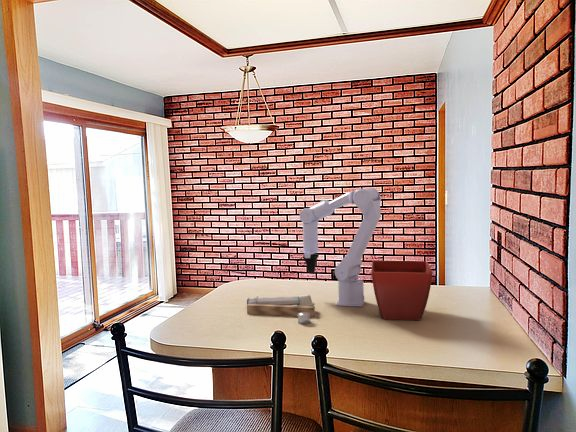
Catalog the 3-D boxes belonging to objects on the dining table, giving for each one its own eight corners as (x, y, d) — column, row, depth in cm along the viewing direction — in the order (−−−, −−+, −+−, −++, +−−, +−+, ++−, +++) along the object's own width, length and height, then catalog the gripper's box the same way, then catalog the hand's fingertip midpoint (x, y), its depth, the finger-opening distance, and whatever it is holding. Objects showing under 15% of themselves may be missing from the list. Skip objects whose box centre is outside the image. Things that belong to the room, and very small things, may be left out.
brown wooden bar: (314, 314, 158) (314, 306, 158) (313, 316, 156) (313, 307, 156) (249, 311, 164) (248, 303, 164) (247, 313, 162) (246, 305, 161)
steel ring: (311, 320, 152) (310, 312, 151) (308, 324, 148) (308, 315, 147) (299, 320, 152) (299, 311, 152) (296, 324, 149) (296, 315, 148)
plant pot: (433, 324, 144) (433, 272, 143) (371, 322, 148) (371, 271, 146) (427, 307, 163) (427, 260, 161) (372, 305, 166) (372, 260, 165)
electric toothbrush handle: (250, 295, 171) (314, 290, 163) (253, 313, 172) (317, 308, 164) (245, 299, 166) (310, 293, 158) (248, 317, 167) (313, 312, 159)
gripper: (304, 236, 186) (305, 269, 187) (296, 241, 172) (297, 276, 173) (321, 236, 184) (322, 269, 185) (314, 241, 170) (315, 277, 171)
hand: (311, 273), depth 179 cm, fingers closed
